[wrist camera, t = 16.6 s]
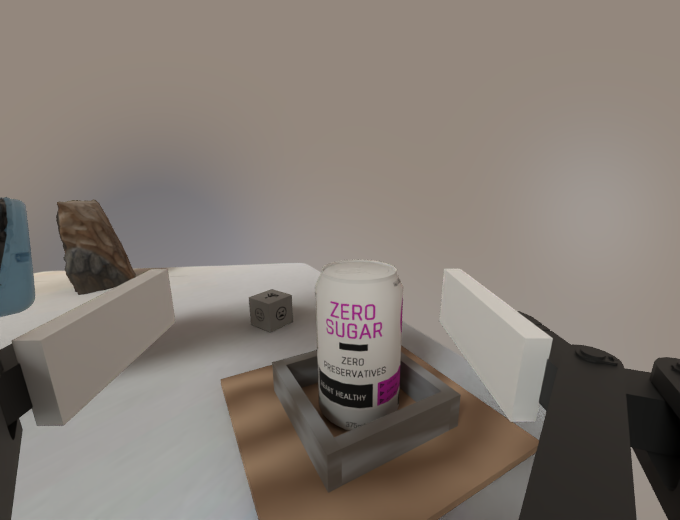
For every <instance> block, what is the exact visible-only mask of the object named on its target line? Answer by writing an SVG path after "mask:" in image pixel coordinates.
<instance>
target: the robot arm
mask: <svg viewBox="0 0 680 520" xmlns="http://www.w3.org/2000/svg"><path fill="white" fill-rule="evenodd" d="M34 300H35V286H34V276H33V267H32V258H31V248H30V240H29V230H28V222H27V213H26V206H25V204H24V203H23V202H22V201H20V200H16V199H10V198H7V197H5V198H0V317H3V316H7V315H11V314H15V313H19V312H22V311H24V310H26V309H28V308H29V307H30V306H31V305H32V304H33V302H34ZM439 321H440V323H441V324H442V326H443V327H444V329H445V330H446V331H447V333H448V334H449V336H450V337H451V339H452V340H453V341H454V343H455V344H456V345H457V347H458V348H459V350H460V351H461V352H462V354H463V355H464V357H465V358H466V360H467V361H468V363H469V364H470V365H471V367H472V368H473V370H474V371H475V372H476V374H477V375H478V377H479V378H480V379H481V381H482V382H483V384H484V385H485V386H486V388H487V389H488V391H489V392H490V394H491V395H492V396H493V398H494V399H495V401H496V402H497V403H498V405H499V406H500V408H501V409H502V410H503V412H504V413H505V415H506V416H507V417H508V419H509V420H510V422H536V420H537V415H538V410H539V405H540V404H541V406H542V407H543V408H544V409H545V410H546V411H547V412H546V416H545V420H544V424H543V428H542V431H541V435H540V439H539V443H538V447H537V451H536V455H535V459H534V462H533V466H532V470H531V474H530V478H529V482H528V486H527V489H526V493H525V497H524V501H523V505H522V509H521V513H520V516H519V520H636V508H635V496H634V484H633V472H632V460H631V449H630V447H632V448H633V450H634V452H635V454H636V456H637V458H638V460H639V462H640V464H641V466H642V468H643V470H644V472H645V474H646V476H647V478H648V480H649V482H650V484H651V486H652V488H653V490H654V492H655V494H656V496H657V498H658V500H659V502H660V504H661V506H662V508H663V510H664V512H665V514H666V516H667V518H668V520H680V359H676V358H668V357H665V358H658V359H657V360H656V361H655V362H654V365H653V368H652V372H651V373H649V372H643V371H636V370H631V369H625V368H624V366H623V364H622V362H621V361H620V360H619V359H617V358H616V357H615V356H613V355H611V354H609V353H607V352H605V351H602V350H599V349H596V348H593V347H589V346H584V345H571V344H569V343H568V342H566V341H565V340H564V339H562V338H560V337H559V336H558V335H556V334H555V333H554V332H552V331H550V329H548V328H547V327H545V326H544V325H542V324H541V323H540V322H538V321H537V320H536V319H534V318H533V317H531V316H529V315H527V314H524V313H522V312H520V311H516V310H514V309H513V308H512V307H510V306H509V305H508V304H506V303H505V302H504V301H502V300H501V299H500V298H498V297H497V296H496V295H494V294H493V293H492V292H490V291H489V290H488V289H486V288H485V287H484V286H482V285H481V284H480V283H479V282H477V281H476V280H475V279H473V278H472V277H470V276H469V275H468V274H467V273H465V272H464V271H463V270H461V269H444V278H443V289H442V299H441V309H440V320H439ZM174 323H175V316H174V309H173V302H172V295H171V288H170V281H169V275H168V269H150V270H148V271H146V272H145V273H143V274H141V275H139V276H137V277H135V278H133V279H131V280H129V281H127V282H125V283H123V284H121V285H119V286H117V287H115V288H113V289H111V290H109V291H107V292H105V293H104V294H102V295H100V296H98V297H96V298H94V299H92V300H90V301H88V302H86V303H84V304H82V305H80V306H78V307H76V308H74V309H72V310H70V311H68V312H66V313H64V314H63V315H61V316H59V317H57V318H55V319H53V320H51V321H49V322H47V323H45V324H43V325H41V326H39V327H37V328H35V329H33V330H31V331H29V332H27V333H25V334H23V335H22V336H20V337H18V338H16V339H14V340H12V344H10V345H8V346H7V347H5V348H3V349H1V350H0V520H11V515H12V507H13V500H14V492H15V484H16V476H17V469H18V461H19V453H20V445H21V438H22V430H23V429H22V426H21V423H20V420H19V417H21V416H22V415H23V414H25V413H26V412H27V411H29V410H30V409H31V408H32V411H33V414H34V417H35V421H36V424H37V426H64V425H65V424H66V423H67V422H68V421H69V420H70V419H71V418H72V417H74V416H75V415H76V414H77V413H78V412H79V411H80V410H81V409H82V408H83V407H84V406H85V405H87V404H88V403H89V402H90V401H91V400H92V399H93V398H94V397H95V396H96V395H97V394H98V393H100V392H101V391H102V390H103V389H104V388H105V387H106V386H107V385H108V384H109V383H110V382H111V381H113V380H114V379H115V378H116V377H117V376H118V375H119V374H120V373H121V372H122V371H123V370H124V369H125V368H127V367H128V366H129V365H130V364H131V363H132V362H133V361H134V360H135V359H136V358H137V357H138V356H140V355H141V354H142V353H143V352H144V351H145V350H146V349H147V348H148V347H149V346H150V345H151V344H153V343H154V342H155V341H156V340H157V339H158V338H159V337H160V336H161V335H162V334H163V333H164V332H166V331H167V330H168V329H169V328H170V327H171V326H172V325H173V324H174Z"/></svg>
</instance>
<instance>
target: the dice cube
mask: <svg viewBox="0 0 680 520" xmlns="http://www.w3.org/2000/svg"><path fill="white" fill-rule="evenodd" d="M249 306H250V317H251V325H253V326H256V327H258V328H261V329H263V330H265V331H268V332H270V333H271V332H273V331H275V330H277V329H279V328H281V327H283V326H285V325H287V324H289V323H291V322H293V313H292V295H290V294H286V293H283V292H279V291H276V290H273V289H271V290H268V291H266V292H263V293H260V294H257V295H254V296H252V297H249Z"/></svg>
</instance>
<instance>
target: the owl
mask: <svg viewBox="0 0 680 520" xmlns="http://www.w3.org/2000/svg"><path fill="white" fill-rule="evenodd" d="M57 205H58V212H57V216H56V218H57V224H58V229H59V234H60V238H61V241H62V242H63V248H64V251H65V257H64V260H65V262H66V266H65V271H66V275H67V276H68V278H69V280H70V282H71V283H72V284H73V286H74V289H75V292H78V295H81V294H88V293H92V292H96V291H101V290H106V289H110V288H114V287H117V286H119V285H121V284H123V283H125V282H127V281H129V280H131V279H133V278H135V273H134V271H133V268H132V267H131V264H130V262H129V259H128V257H127V255H126V253H125V251H124V248H123V246H122V244H121V242H120V241H119V239H118V237H117V235H116V234H115V232H114V230H113V228H112V226H111V224H110V222H109V220H108V218H107V216H106V214H105V213H104V211H103V209H102V208H101V206H100V204H99V203H98V202H97V201H96V200H92V201H78V200H76V201H75V200H72V201H67V202H57Z"/></svg>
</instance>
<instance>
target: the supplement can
mask: <svg viewBox="0 0 680 520" xmlns="http://www.w3.org/2000/svg"><path fill="white" fill-rule="evenodd" d="M315 299H316V329H317V358H318V387H319V406H320V408H321V411H322V413H323V415H324V416H325V417H326V418H327V419H328V420H329V421H330V422H332V423H334V424H335V425H337V426H339V427H341V428H343V429H345V430H349V431H351V430H353V429H355V428H358V427H360V426H362V425H365V424H367V423H369V422H372V421H374V420H376V419H379V418H381V417H383V416H386V415H388V414H390V413H393V412H395V411H397V409H398V406H399V385H400V358H401V332H402V305H403V285H402V283H401V281H400V279H399V277H398V276H397V270H396V268H395V267H394V266H392V265H390V264H388V263H384V262H380V261H372V260H345V261H338V262H334V263H330V264H327V265H326V266H324V267H322V270H321V274H320V276H319V278H318V280H317V283H316V285H315Z"/></svg>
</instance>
